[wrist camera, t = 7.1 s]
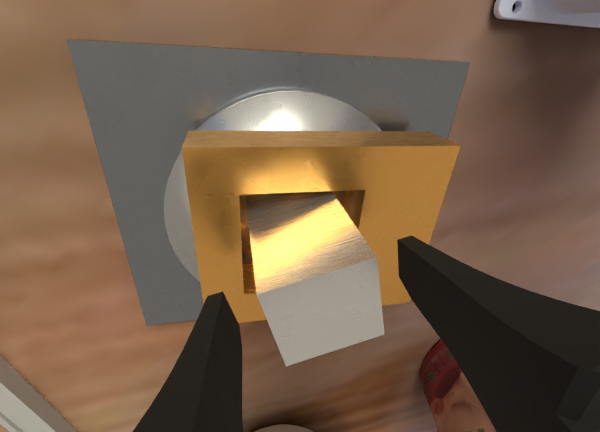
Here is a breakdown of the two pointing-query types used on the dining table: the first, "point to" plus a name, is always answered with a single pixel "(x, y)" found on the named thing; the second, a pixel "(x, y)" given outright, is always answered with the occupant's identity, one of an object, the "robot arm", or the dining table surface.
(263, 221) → the rectangular block
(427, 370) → the brown ceramic rounded pot
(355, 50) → the dining table surface
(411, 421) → the dining table surface
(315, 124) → the bracket rosette
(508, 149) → the dining table surface
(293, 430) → the dish
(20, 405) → the adjustable wrench
